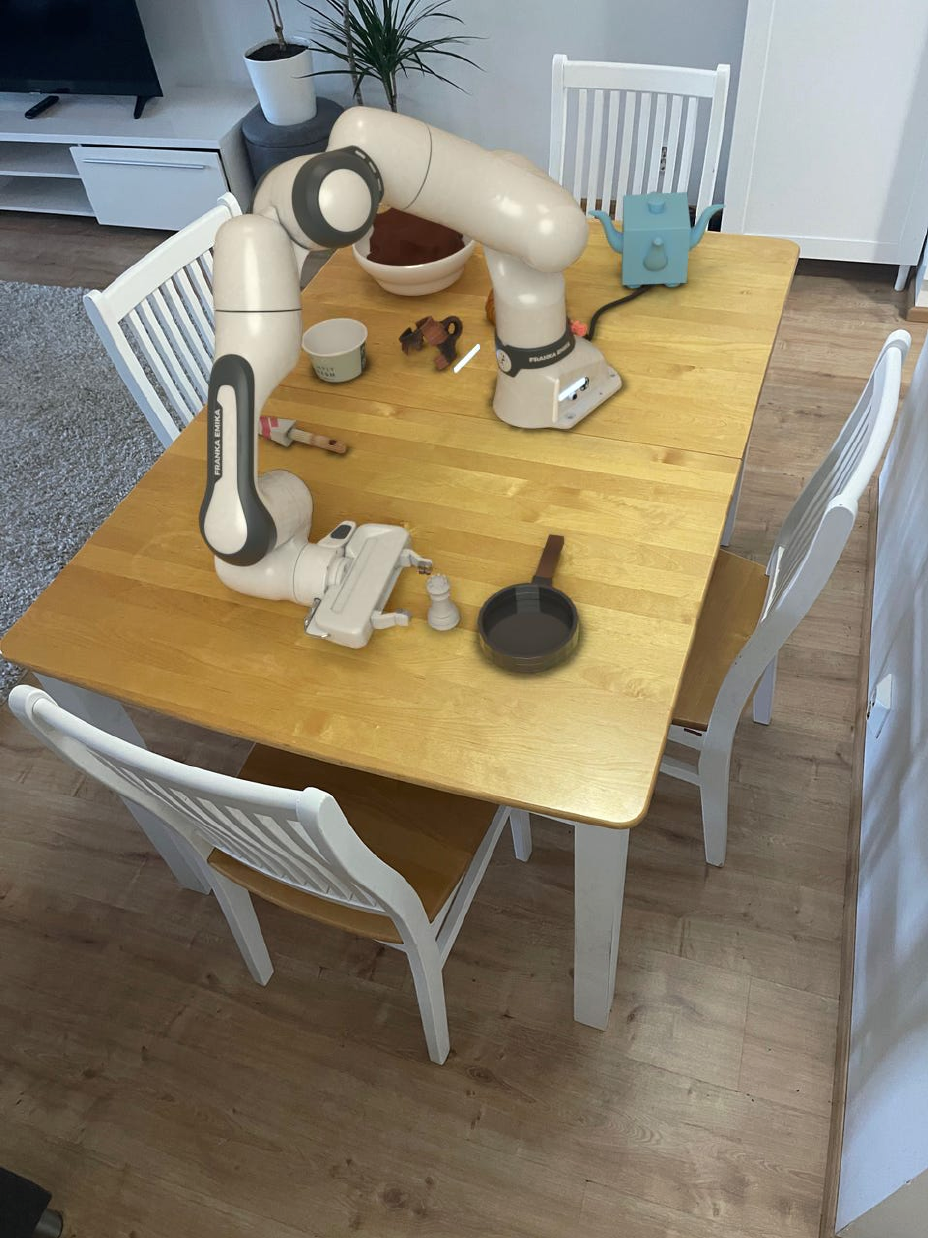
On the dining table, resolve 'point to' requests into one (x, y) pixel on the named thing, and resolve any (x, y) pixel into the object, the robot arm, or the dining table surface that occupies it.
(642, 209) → the teakettle
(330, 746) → the dining table surface
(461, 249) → the white bowl
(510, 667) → the pan
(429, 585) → the rook chess piece
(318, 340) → the food container
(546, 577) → the pan handle
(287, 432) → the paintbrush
